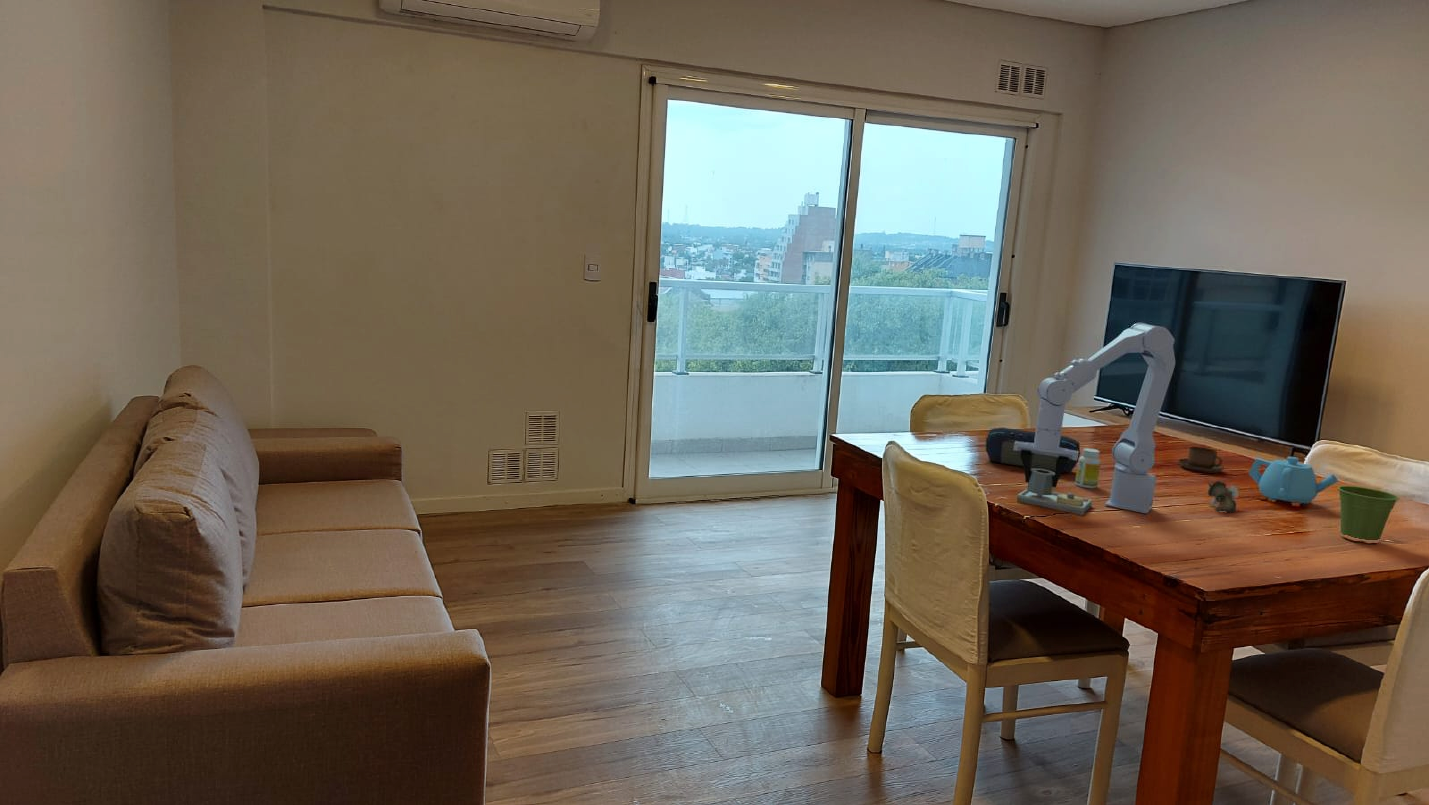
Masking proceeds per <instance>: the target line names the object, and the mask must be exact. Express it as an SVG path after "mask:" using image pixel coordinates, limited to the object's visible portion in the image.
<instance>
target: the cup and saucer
mask: <svg viewBox="0 0 1429 805" xmlns="http://www.w3.org/2000/svg"><path fill="white" fill-rule="evenodd" d="M1188 449H1189V450H1188V455H1187V456H1188V457H1187V458H1180V459H1178V464H1179V465H1180V466H1181V467H1183V468H1186V469H1188V470H1190V471H1194V472H1199V473H1200V472H1201V473H1209V474H1210V473H1220V472H1221V471H1223V470H1224V468H1225V467H1224V466H1223V465H1222V464H1223V461H1222V458H1221V457H1220V456H1218V451H1217V450H1215V449H1212V448H1207V447H1202V446H1190V447H1189V448H1188ZM1217 459H1218V461H1219V463H1216V461H1217Z"/></svg>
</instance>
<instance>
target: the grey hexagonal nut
mask: <svg viewBox="0 0 1429 805" xmlns="http://www.w3.org/2000/svg"><path fill="white" fill-rule="evenodd" d="M1054 476H1055V472H1054V471H1049V470H1044V469H1035V468H1031V470H1030V475H1029V481H1028V483H1027V487H1026V489H1027V491H1030V492H1032V493H1035V494H1040V495H1052V492H1054V487H1053V481H1054Z"/></svg>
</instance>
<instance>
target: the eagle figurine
mask: <svg viewBox="0 0 1429 805" xmlns="http://www.w3.org/2000/svg"><path fill="white" fill-rule="evenodd" d="M1207 484H1208V487H1209V489H1208V490H1207V495H1208V496H1210V497H1214V498H1213V499H1212V500H1211V501H1210V504H1209V505H1210V506H1209V507H1211V506H1214V505H1215V504H1217V503H1218V504H1217V506H1216V507H1214V510H1215V511H1216V512H1218V511H1226V512H1230V513H1231V512H1232V513H1234V512H1235V511H1236V508H1237V502H1236V501H1235V500H1234V499H1238V497H1239V489H1238V487H1236V486H1234V485H1232V484H1230V485H1229V486H1228V488H1227V486H1226V485H1227V484H1226V482H1222V481H1220V480H1217V481H1215V482H1213V483H1210V482H1207Z"/></svg>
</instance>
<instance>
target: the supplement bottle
mask: <svg viewBox="0 0 1429 805" xmlns="http://www.w3.org/2000/svg"><path fill="white" fill-rule="evenodd" d="M1099 456H1100V450H1098V449H1094V448H1087V447H1086V448H1083V449H1082V455H1081V456H1079V460H1078V463H1077V469H1076V474H1075V482H1074V484H1075V485H1076V486H1078V487H1081V488H1085V489H1096V488H1097V487H1098V481H1099V475H1100V469H1101V463H1102V462H1101V460H1100V458H1098V457H1099Z"/></svg>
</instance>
